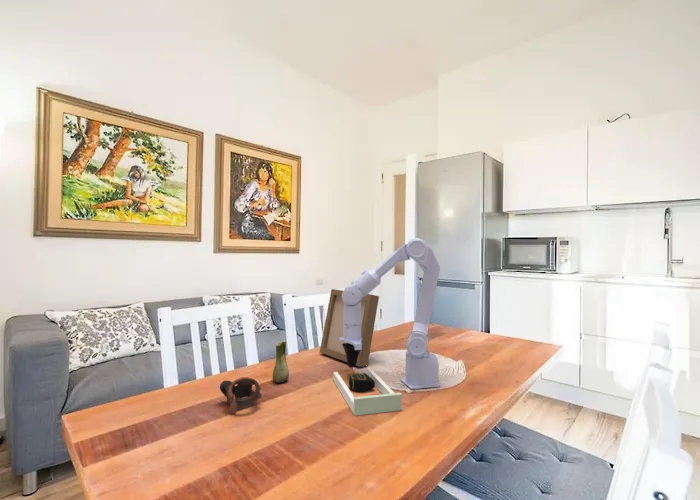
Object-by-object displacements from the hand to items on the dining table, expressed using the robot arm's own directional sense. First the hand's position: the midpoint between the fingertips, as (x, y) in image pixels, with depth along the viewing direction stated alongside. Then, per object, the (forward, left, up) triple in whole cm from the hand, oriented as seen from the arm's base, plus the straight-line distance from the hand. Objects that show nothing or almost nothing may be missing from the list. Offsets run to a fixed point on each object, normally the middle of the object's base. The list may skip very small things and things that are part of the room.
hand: (351, 366), depth 112 cm
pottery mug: (+34, +12, -4) cm, 36 cm away
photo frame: (-6, -20, -4) cm, 21 cm away
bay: (0, +13, -3) cm, 13 cm away
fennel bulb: (+22, -2, -4) cm, 22 cm away
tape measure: (-1, +9, -4) cm, 10 cm away
